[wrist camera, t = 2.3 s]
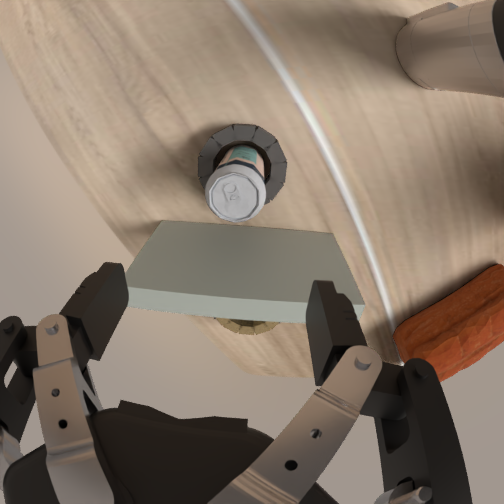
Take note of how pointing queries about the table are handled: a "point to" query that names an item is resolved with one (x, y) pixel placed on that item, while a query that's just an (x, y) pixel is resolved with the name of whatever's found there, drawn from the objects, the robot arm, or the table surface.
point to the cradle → (245, 134)
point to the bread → (457, 326)
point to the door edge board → (236, 271)
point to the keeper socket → (246, 325)
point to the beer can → (237, 185)
